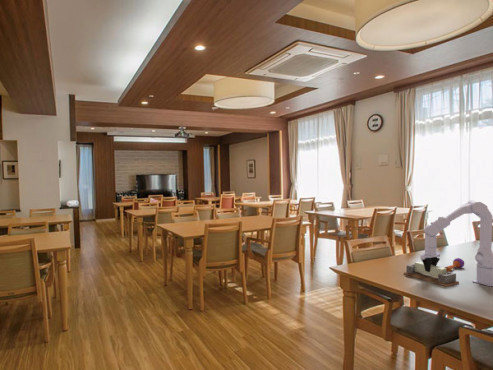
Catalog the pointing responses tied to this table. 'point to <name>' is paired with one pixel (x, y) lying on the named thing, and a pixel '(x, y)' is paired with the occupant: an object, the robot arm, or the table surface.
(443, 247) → the table surface
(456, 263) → the brown piece
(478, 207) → the robot arm
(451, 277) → the cradle
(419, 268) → the slat
